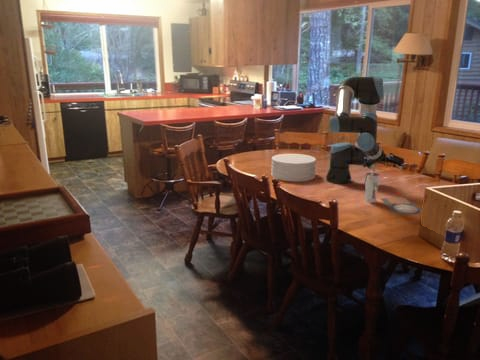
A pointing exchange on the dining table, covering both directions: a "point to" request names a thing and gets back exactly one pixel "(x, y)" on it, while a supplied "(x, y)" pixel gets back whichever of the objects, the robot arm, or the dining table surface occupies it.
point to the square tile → (397, 201)
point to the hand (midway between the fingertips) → (387, 168)
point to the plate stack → (293, 167)
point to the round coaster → (405, 208)
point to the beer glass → (371, 187)
